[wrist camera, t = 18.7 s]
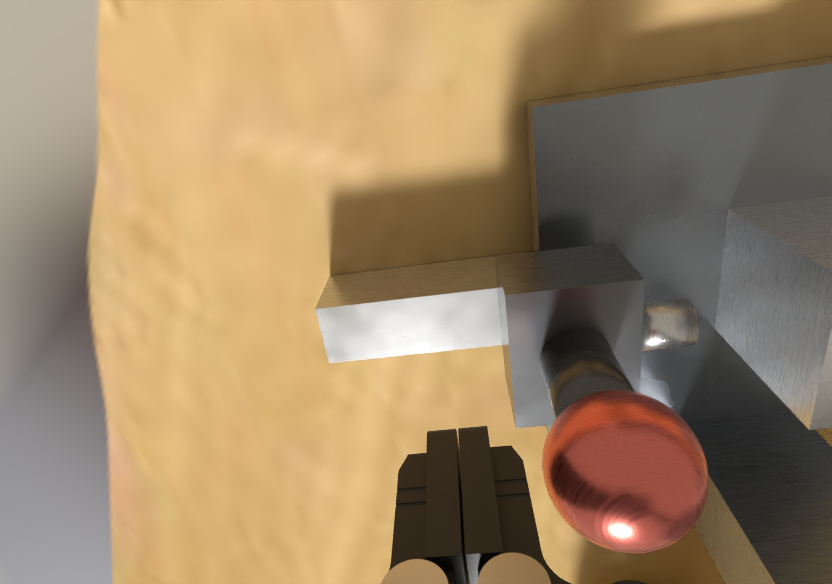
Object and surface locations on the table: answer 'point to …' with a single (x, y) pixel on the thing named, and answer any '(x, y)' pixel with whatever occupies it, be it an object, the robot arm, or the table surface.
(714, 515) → the press
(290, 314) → the table surface
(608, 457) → the lever
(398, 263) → the table surface
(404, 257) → the table surface
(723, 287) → the block
